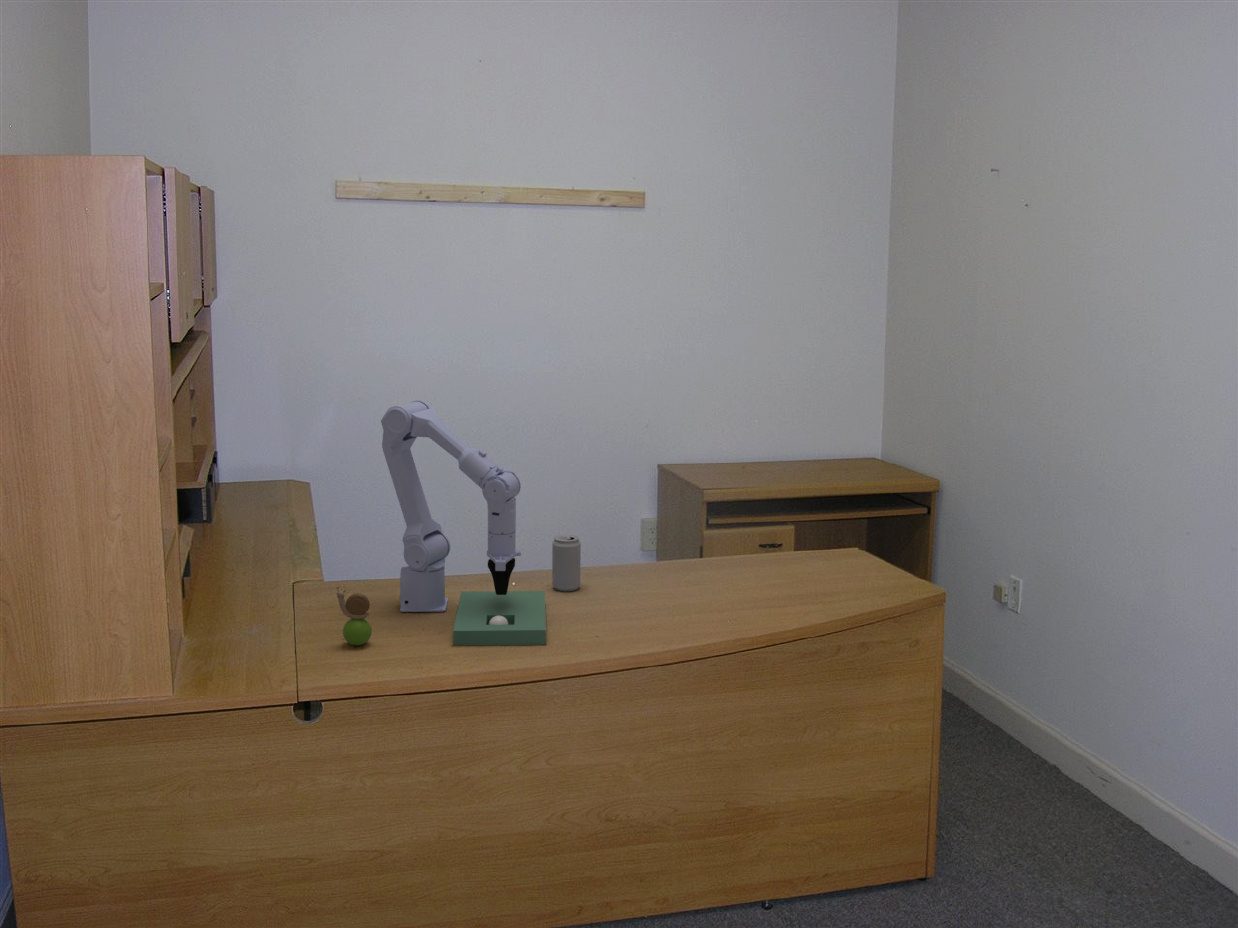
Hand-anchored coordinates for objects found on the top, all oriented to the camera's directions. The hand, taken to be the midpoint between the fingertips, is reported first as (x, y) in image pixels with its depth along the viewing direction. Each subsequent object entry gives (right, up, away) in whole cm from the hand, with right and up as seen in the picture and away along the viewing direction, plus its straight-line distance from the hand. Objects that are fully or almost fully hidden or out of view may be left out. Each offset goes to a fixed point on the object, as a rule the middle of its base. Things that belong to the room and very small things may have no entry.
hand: (501, 593), depth 228 cm
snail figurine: (-27, -8, -15) cm, 32 cm away
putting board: (0, -6, -2) cm, 6 cm away
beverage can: (+12, -1, +21) cm, 25 cm away
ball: (0, -5, -9) cm, 11 cm away
